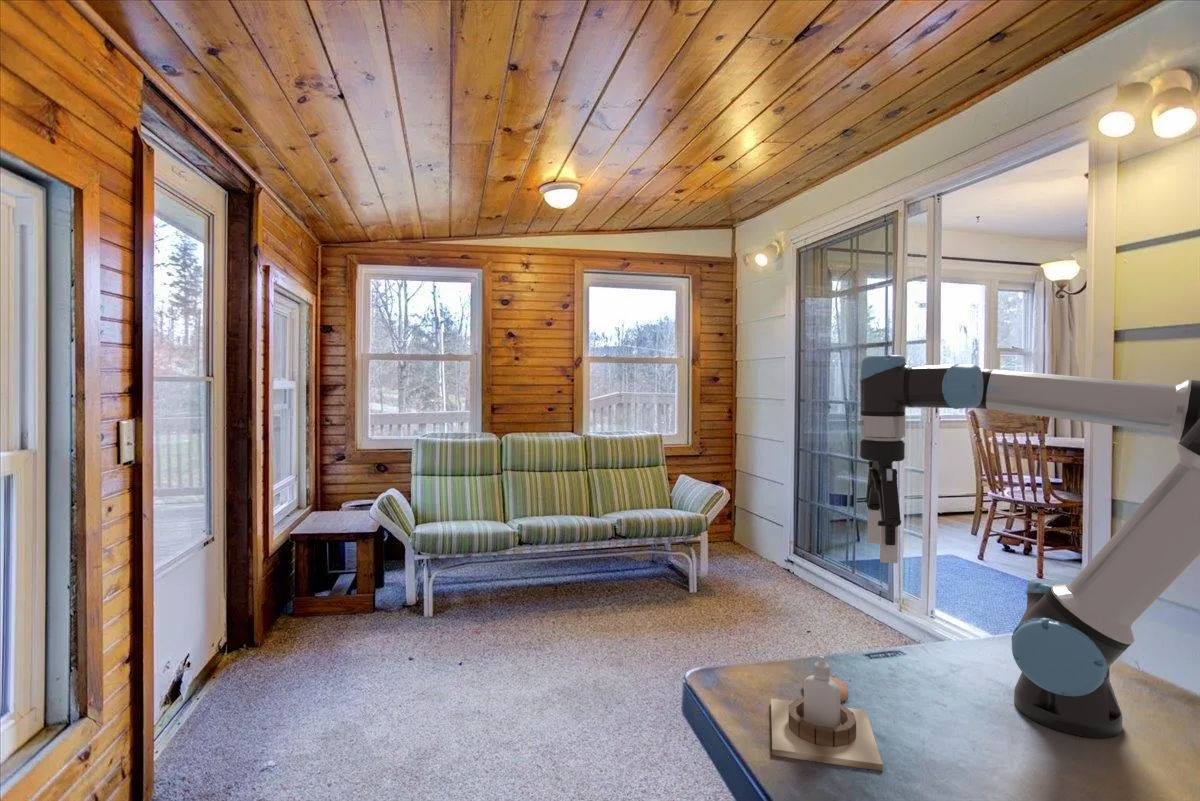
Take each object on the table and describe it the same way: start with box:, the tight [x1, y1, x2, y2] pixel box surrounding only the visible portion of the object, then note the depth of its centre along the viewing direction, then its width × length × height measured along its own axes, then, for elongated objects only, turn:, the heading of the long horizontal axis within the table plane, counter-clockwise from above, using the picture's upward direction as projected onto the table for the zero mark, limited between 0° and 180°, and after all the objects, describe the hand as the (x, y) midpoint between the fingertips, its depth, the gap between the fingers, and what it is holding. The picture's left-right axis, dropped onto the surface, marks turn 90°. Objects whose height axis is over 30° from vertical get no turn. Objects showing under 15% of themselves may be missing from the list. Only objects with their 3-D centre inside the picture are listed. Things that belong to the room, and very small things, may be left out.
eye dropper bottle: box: [803, 655, 841, 727], centre depth 102 cm, size 4×6×12 cm
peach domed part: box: [802, 675, 849, 704], centre depth 116 cm, size 8×8×2 cm
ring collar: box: [770, 697, 884, 772], centre depth 102 cm, size 16×16×4 cm
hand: (881, 552), depth 115 cm, fingers open, 13 cm apart
